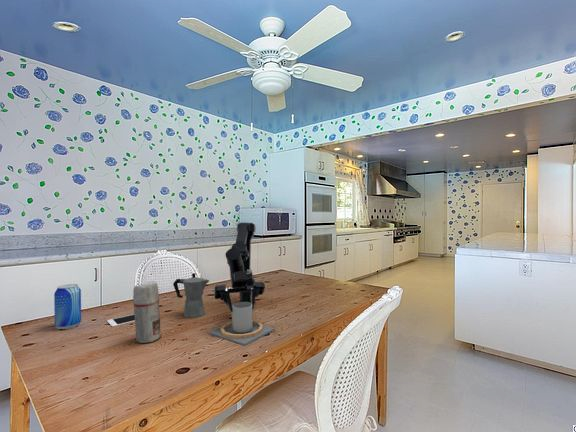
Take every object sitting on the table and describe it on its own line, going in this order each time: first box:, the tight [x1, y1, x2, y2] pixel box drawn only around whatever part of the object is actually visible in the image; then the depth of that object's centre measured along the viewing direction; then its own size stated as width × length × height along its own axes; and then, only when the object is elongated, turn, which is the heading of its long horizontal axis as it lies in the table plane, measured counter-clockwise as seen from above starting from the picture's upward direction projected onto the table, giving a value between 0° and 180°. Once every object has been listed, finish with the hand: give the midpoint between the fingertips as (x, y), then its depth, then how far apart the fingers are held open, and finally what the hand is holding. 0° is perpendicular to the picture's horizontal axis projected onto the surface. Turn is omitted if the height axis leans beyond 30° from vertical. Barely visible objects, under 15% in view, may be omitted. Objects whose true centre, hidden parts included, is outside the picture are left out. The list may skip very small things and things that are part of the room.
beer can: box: [53, 283, 82, 330], centre depth 118 cm, size 8×8×16 cm
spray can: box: [132, 280, 162, 344], centre depth 105 cm, size 8×8×20 cm
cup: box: [230, 301, 253, 333], centre depth 110 cm, size 7×10×9 cm
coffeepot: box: [172, 272, 210, 319], centre depth 130 cm, size 15×9×18 cm, turn 92°
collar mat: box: [208, 319, 276, 347], centre depth 110 cm, size 18×16×2 cm
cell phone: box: [106, 313, 135, 328], centre depth 126 cm, size 9×18×1 cm, turn 133°
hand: (242, 310), depth 109 cm, fingers closed on cup, 7 cm apart
